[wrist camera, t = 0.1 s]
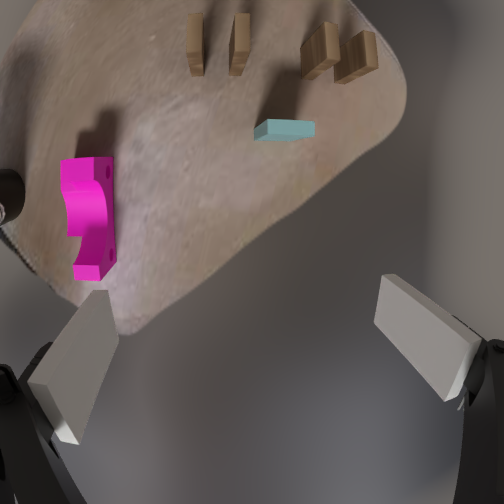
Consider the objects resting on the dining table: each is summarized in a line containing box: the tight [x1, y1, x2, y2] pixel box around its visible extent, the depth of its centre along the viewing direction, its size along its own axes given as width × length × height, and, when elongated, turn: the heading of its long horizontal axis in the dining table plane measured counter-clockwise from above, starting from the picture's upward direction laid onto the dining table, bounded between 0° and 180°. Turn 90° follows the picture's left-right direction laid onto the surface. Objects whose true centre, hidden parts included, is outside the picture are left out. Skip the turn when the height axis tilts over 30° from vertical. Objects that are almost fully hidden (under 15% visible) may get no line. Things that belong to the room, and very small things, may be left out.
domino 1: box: [186, 13, 204, 77], centre depth 29 cm, size 2×5×10 cm, turn 0°
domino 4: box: [300, 22, 340, 80], centre depth 31 cm, size 2×5×10 cm, turn 1°
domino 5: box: [334, 30, 379, 84], centre depth 31 cm, size 2×5×10 cm, turn 0°
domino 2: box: [229, 13, 250, 76], centre depth 30 cm, size 2×5×10 cm, turn 0°
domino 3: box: [254, 119, 315, 141], centre depth 34 cm, size 2×5×10 cm, turn 91°
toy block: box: [61, 157, 116, 281], centre depth 35 cm, size 15×6×8 cm, turn 177°
